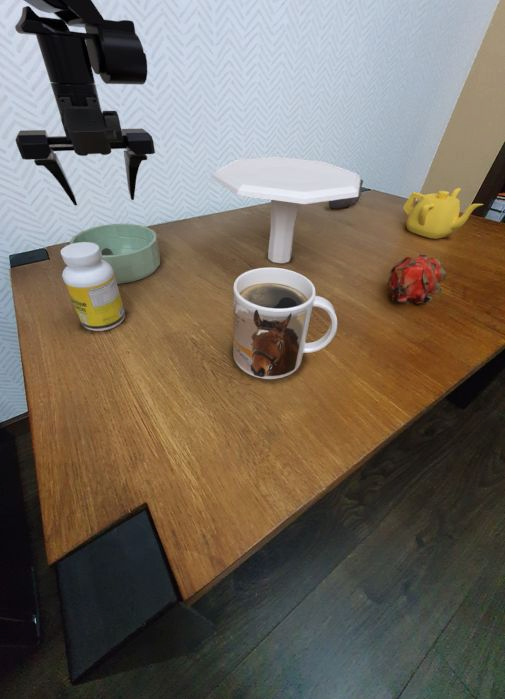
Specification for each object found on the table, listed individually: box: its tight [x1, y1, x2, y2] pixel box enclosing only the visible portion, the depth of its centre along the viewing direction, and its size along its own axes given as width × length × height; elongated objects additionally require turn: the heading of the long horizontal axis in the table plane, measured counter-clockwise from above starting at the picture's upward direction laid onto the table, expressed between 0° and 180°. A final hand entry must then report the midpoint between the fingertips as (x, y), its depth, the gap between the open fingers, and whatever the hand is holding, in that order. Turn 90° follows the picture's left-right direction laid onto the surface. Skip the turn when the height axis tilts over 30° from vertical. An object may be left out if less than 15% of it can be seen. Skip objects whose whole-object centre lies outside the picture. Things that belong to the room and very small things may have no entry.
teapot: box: [402, 187, 484, 239], centre depth 79 cm, size 14×13×10 cm
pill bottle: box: [60, 242, 126, 332], centre depth 44 cm, size 6×6×12 cm
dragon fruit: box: [387, 253, 447, 304], centre depth 54 cm, size 8×8×12 cm
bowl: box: [69, 223, 162, 285], centre depth 60 cm, size 15×15×6 cm
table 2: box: [210, 156, 362, 264], centre depth 61 cm, size 28×28×17 cm
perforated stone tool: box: [328, 178, 364, 210], centre depth 93 cm, size 15×5×7 cm, turn 132°
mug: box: [232, 266, 338, 380], centre depth 40 cm, size 10×12×11 cm
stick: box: [102, 248, 113, 255], centre depth 60 cm, size 2×8×2 cm
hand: (104, 202), depth 53 cm, fingers open, 9 cm apart
